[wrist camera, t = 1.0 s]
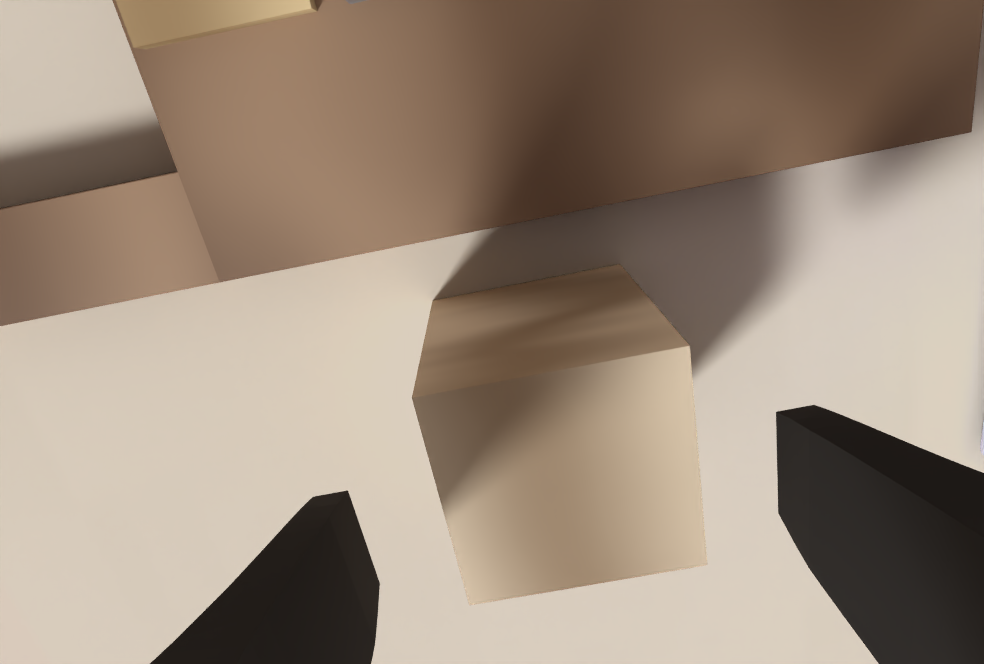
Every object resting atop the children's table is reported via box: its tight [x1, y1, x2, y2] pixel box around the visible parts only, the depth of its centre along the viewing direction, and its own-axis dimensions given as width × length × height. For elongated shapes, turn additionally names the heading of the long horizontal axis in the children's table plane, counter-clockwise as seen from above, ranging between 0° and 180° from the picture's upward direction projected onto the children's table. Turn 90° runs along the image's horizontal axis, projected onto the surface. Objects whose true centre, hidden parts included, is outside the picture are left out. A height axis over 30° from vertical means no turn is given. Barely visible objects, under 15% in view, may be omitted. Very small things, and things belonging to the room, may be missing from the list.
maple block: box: [412, 264, 707, 605], centre depth 13 cm, size 4×4×5 cm
